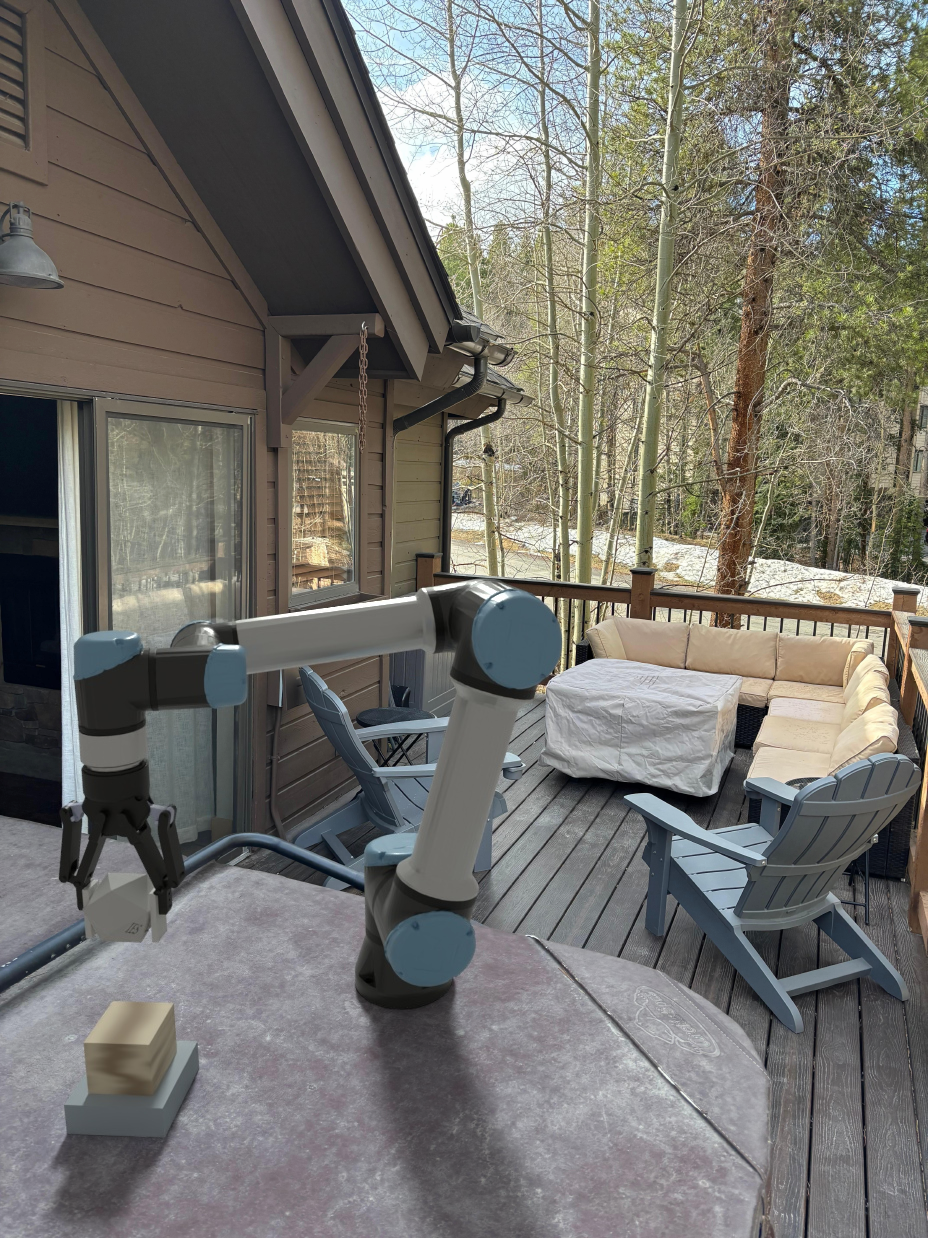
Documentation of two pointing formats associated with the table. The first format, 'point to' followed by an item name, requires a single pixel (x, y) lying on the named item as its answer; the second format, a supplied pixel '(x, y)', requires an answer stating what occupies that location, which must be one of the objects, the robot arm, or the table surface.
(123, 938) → the die
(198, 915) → the table surface
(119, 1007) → the maple block
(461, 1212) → the table surface
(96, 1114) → the plinth
